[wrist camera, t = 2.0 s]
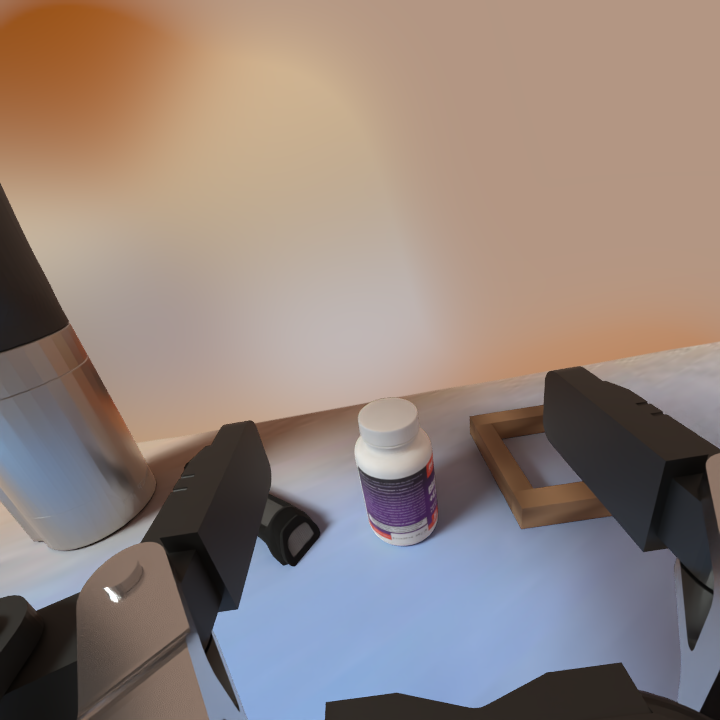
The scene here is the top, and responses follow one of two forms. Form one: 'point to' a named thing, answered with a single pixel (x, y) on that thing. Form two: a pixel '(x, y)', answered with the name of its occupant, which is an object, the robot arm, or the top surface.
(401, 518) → the pill bottle
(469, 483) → the top surface
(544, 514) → the socket block
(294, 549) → the electric trimmer
